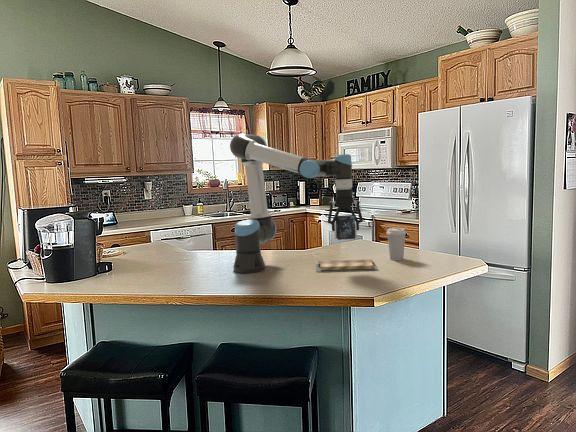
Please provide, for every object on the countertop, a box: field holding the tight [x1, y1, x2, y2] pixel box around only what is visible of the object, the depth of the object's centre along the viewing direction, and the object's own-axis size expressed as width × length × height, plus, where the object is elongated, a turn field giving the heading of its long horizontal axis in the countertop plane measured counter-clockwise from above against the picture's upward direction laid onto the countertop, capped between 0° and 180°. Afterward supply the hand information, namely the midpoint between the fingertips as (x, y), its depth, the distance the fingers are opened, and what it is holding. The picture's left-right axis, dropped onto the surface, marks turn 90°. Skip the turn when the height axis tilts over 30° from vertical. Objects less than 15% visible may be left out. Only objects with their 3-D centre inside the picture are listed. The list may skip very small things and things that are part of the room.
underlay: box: [315, 262, 379, 273], centre depth 206 cm, size 28×15×1 cm, turn 86°
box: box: [335, 214, 356, 241], centre depth 201 cm, size 8×6×11 cm
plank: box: [320, 262, 374, 270], centre depth 203 cm, size 24×8×2 cm, turn 86°
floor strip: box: [317, 258, 375, 267], centre depth 210 cm, size 26×6×2 cm, turn 86°
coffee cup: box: [385, 227, 407, 261], centre depth 218 cm, size 10×10×15 cm
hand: (345, 237), depth 202 cm, fingers closed on box, 8 cm apart
